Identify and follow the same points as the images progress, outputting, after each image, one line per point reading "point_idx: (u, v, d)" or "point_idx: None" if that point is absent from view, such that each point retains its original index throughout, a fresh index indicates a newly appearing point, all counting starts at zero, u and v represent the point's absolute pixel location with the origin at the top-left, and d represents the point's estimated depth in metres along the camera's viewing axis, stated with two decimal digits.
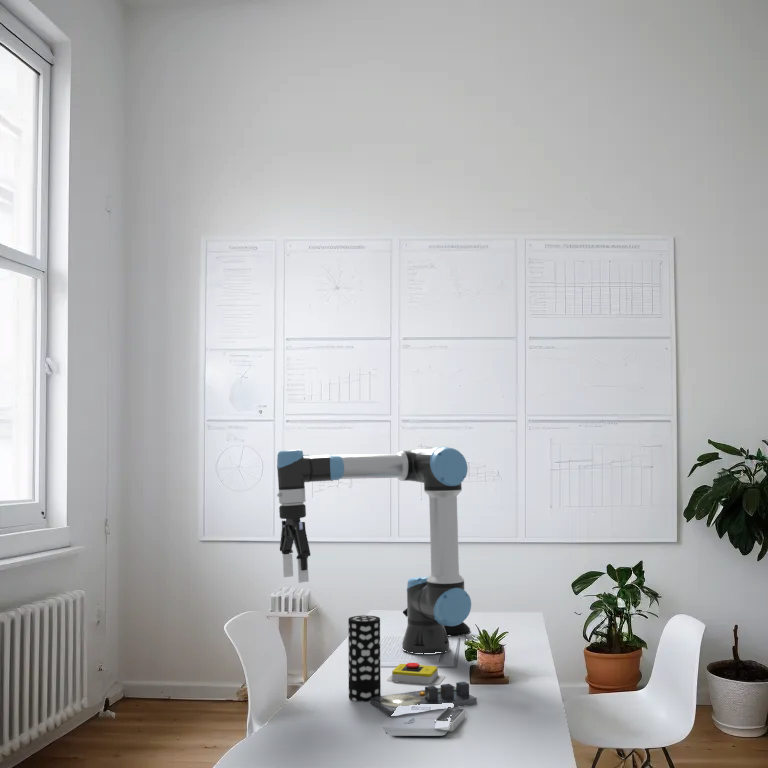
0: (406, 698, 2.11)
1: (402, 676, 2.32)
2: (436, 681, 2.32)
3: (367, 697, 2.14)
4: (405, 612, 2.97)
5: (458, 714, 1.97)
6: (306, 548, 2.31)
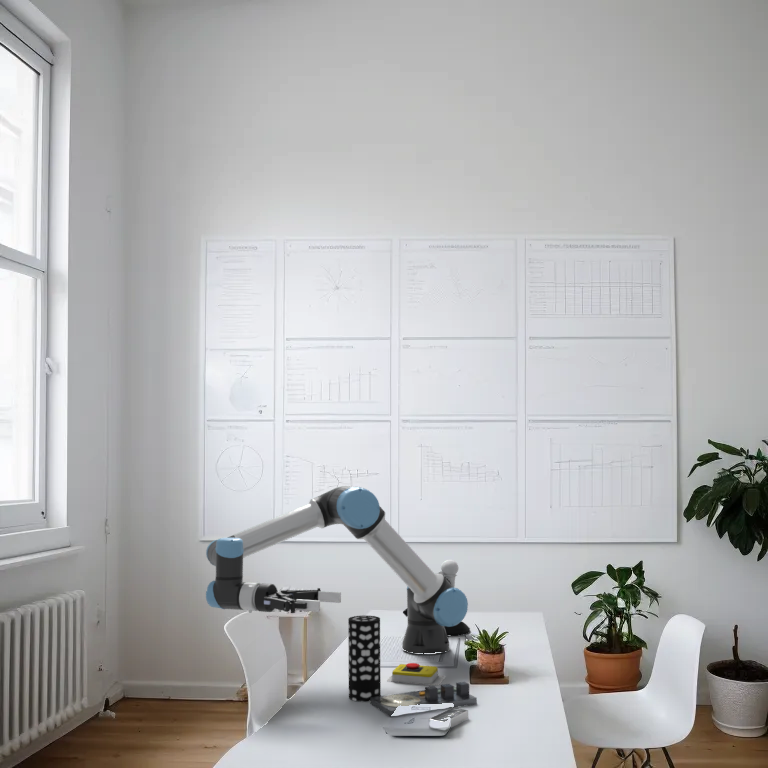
0: (406, 698, 2.11)
1: (402, 676, 2.31)
2: (436, 681, 2.31)
3: (367, 697, 2.14)
4: (405, 612, 2.97)
5: (457, 715, 1.96)
6: (282, 604, 2.18)
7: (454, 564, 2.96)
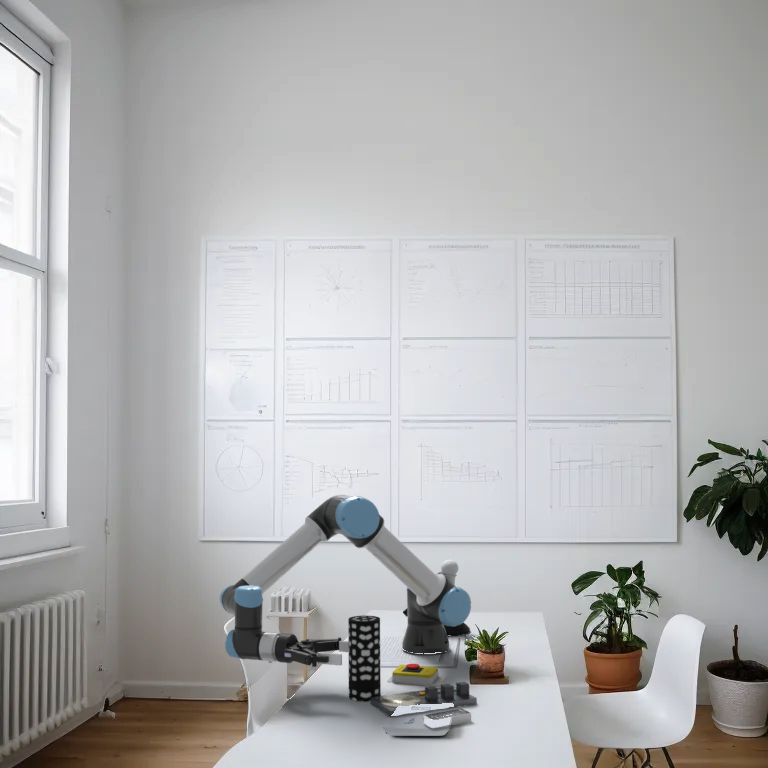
0: (406, 698, 2.11)
1: (402, 677, 2.31)
2: (436, 682, 2.31)
3: (367, 697, 2.14)
4: (405, 612, 2.97)
5: (454, 715, 1.96)
6: (303, 657, 2.14)
7: (454, 564, 2.96)
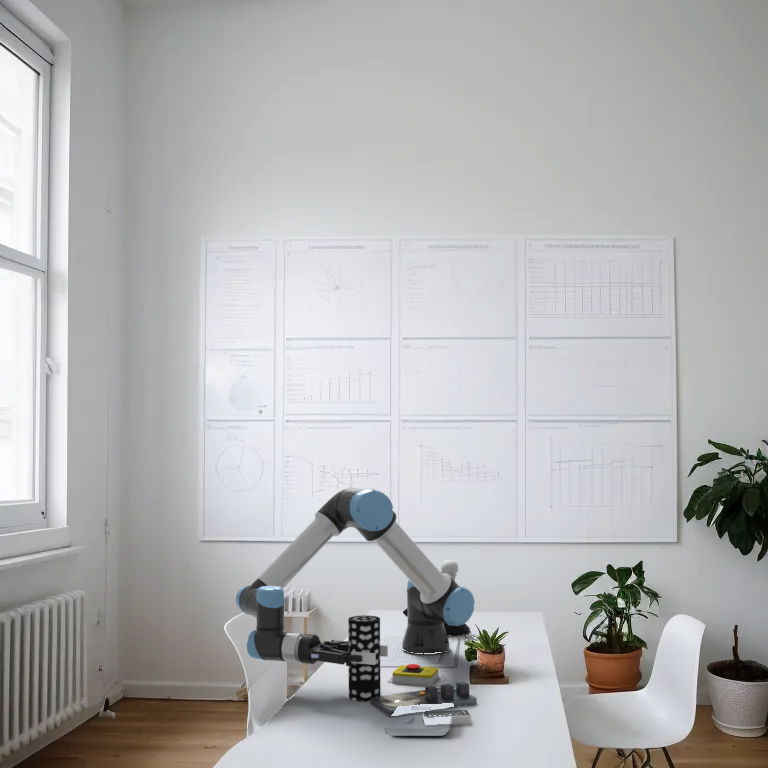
0: (406, 698, 2.11)
1: (403, 677, 2.30)
2: (437, 682, 2.30)
3: (367, 697, 2.14)
4: (405, 612, 2.97)
5: (451, 715, 1.96)
6: (336, 657, 2.13)
7: (454, 564, 2.96)
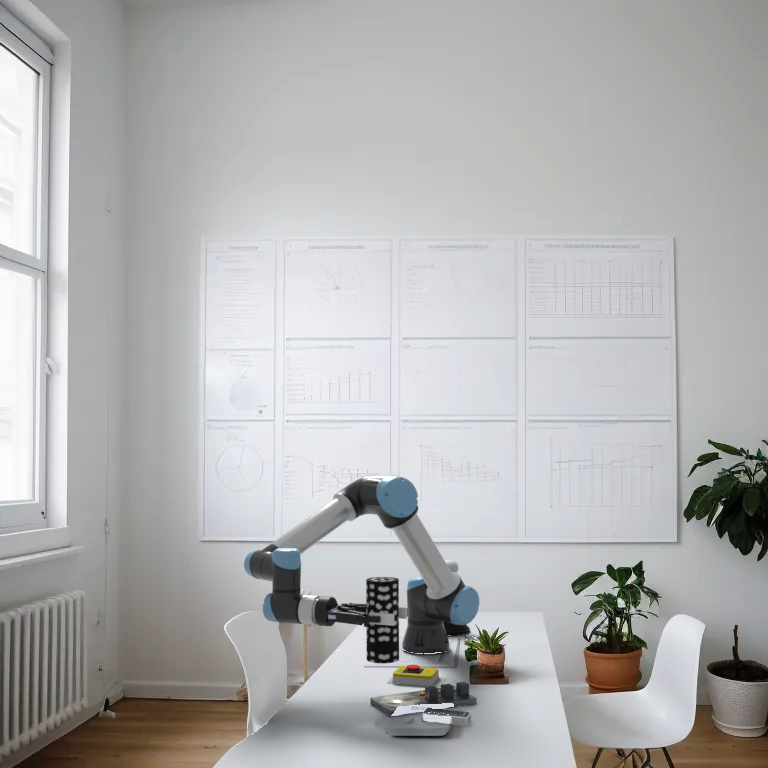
0: (406, 698, 2.11)
1: (403, 678, 2.30)
2: (437, 683, 2.30)
3: (385, 659, 2.09)
4: None
5: (447, 715, 1.96)
6: (354, 617, 2.08)
7: (454, 564, 2.96)
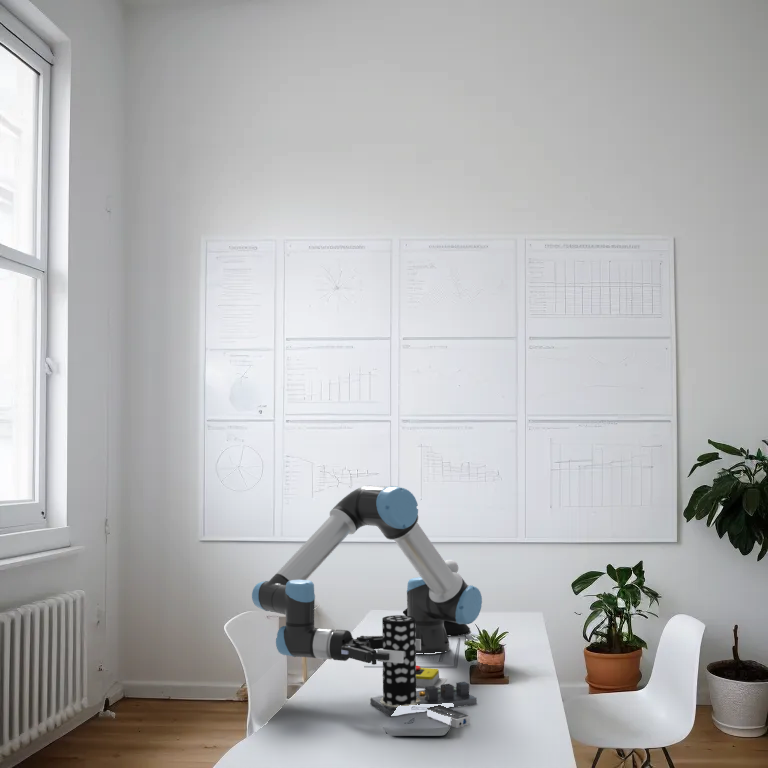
0: None
1: None
2: (437, 684, 2.29)
3: (402, 700, 2.05)
4: (405, 612, 2.97)
5: (444, 714, 1.97)
6: (363, 654, 2.03)
7: (454, 564, 2.96)
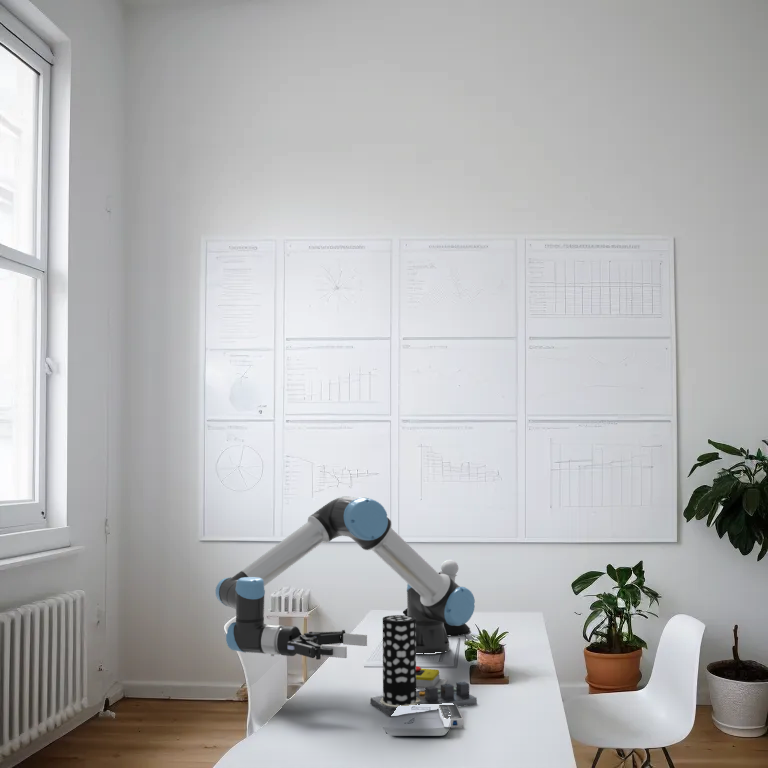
0: None
1: None
2: (438, 685, 2.28)
3: (402, 700, 2.05)
4: (405, 612, 2.97)
5: (443, 712, 1.98)
6: (307, 650, 2.09)
7: (454, 564, 2.96)
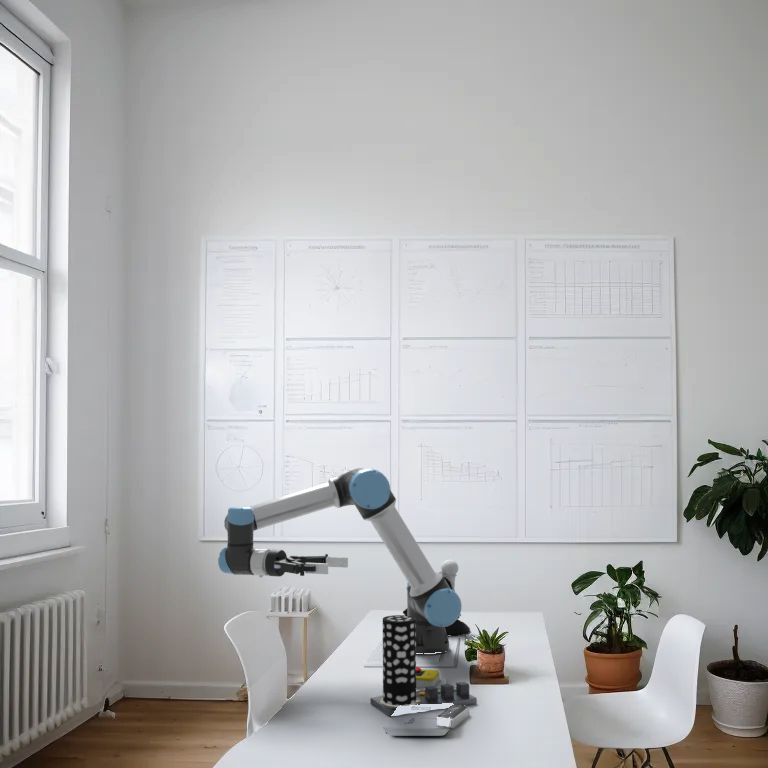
0: None
1: None
2: (438, 685, 2.27)
3: (403, 701, 2.05)
4: (405, 612, 2.97)
5: (444, 711, 1.99)
6: (292, 567, 2.28)
7: (454, 564, 2.96)
